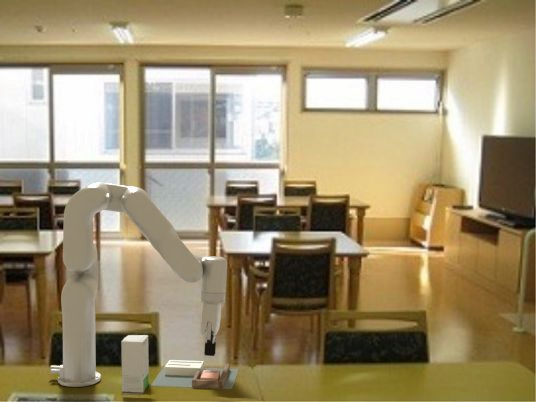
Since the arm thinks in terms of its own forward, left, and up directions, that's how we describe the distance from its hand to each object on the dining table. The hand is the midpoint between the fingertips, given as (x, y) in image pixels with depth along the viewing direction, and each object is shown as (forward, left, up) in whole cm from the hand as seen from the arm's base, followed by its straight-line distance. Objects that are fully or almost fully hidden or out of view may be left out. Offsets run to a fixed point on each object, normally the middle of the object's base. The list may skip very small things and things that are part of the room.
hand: (209, 354), depth 216 cm
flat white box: (-8, 0, -6) cm, 10 cm away
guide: (+1, -5, -6) cm, 8 cm away
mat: (-3, -5, -7) cm, 9 cm away
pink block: (+2, -9, -6) cm, 11 cm away
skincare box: (-20, -15, -7) cm, 26 cm away
